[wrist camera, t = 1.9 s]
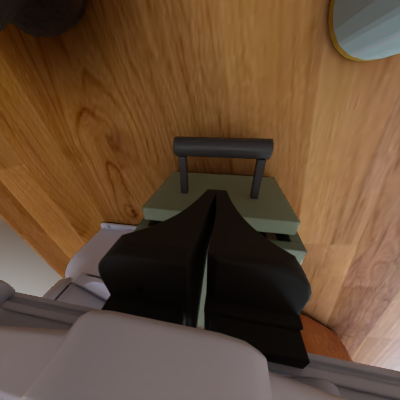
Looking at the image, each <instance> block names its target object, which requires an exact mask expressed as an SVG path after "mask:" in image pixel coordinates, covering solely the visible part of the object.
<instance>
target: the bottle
mask: <svg viewBox="0 0 400 400" xmlns="http://www.w3.org/2000/svg"><path fill="white" fill-rule="evenodd" d="M329 33H330V37H331V39H332V42H333V45H334V47H335V48H336V50H337V51H338V52H339V53H340V54H341V55H342V56H344V57H345V58H348V59H351V60H354V61H359V62H363V61H373V60H377V59H381V58H385V57H388V56H392V55H395V54H398V53H400V0H331V4H330V8H329Z"/></svg>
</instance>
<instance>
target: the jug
mask: <svg viewBox="0 0 400 400" xmlns="http://www.w3.org/2000/svg"><path fill="white" fill-rule="evenodd" d="M86 1H87V0H0V32H1V31H2V30H3V29H4V28H5V27H6V26H7V25H8V24H9V22H11V23H12V24H14V25H15V26H17V27H18V28H20V29H21V30H23V31H24V32H26V33H28V34H31V35H33V36H35V37H36V38H37V35H39V36H46V37H48V36H54V35H60V34H62V33H64V32H66V31H67V30H68V29H69V28H70V27H72V26H73V25H75V24H77V20H79V19H80V18H81V16H82V15H83V13H84V9H85V5H86Z"/></svg>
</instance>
